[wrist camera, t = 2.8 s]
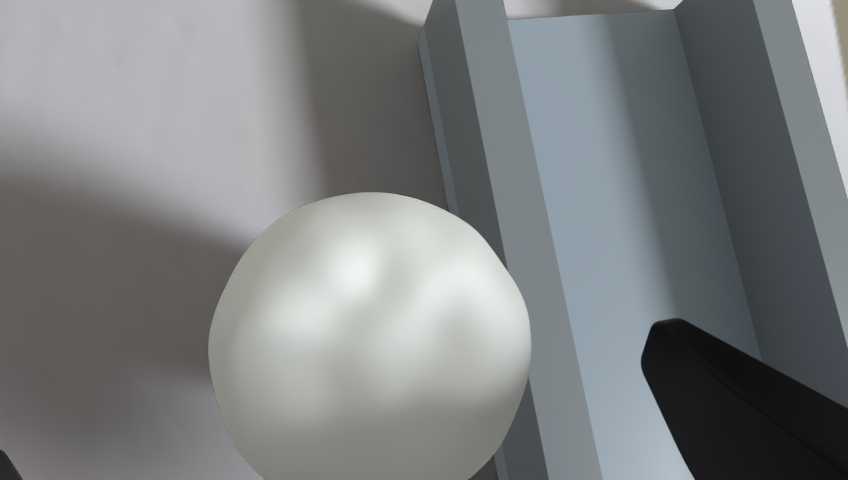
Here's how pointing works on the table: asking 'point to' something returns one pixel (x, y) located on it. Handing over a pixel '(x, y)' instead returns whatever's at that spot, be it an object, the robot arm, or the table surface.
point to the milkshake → (369, 344)
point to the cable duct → (641, 207)
